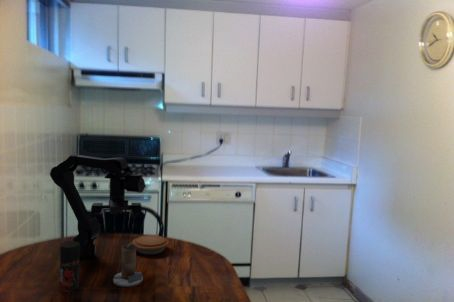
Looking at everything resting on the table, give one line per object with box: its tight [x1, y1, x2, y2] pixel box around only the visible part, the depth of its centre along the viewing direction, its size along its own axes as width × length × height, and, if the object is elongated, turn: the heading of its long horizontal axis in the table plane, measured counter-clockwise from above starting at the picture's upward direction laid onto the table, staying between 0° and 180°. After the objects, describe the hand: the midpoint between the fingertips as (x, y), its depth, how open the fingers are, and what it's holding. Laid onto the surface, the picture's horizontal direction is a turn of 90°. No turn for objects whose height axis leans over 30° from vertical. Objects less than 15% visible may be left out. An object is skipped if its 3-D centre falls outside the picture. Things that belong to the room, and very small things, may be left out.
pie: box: [131, 234, 170, 256], centre depth 165 cm, size 15×16×5 cm
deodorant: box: [59, 240, 80, 293], centre depth 127 cm, size 6×6×15 cm
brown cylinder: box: [120, 242, 137, 280], centre depth 135 cm, size 5×5×12 cm
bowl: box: [113, 271, 144, 288], centre depth 135 cm, size 10×10×4 cm
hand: (116, 229), depth 150 cm, fingers open, 9 cm apart
